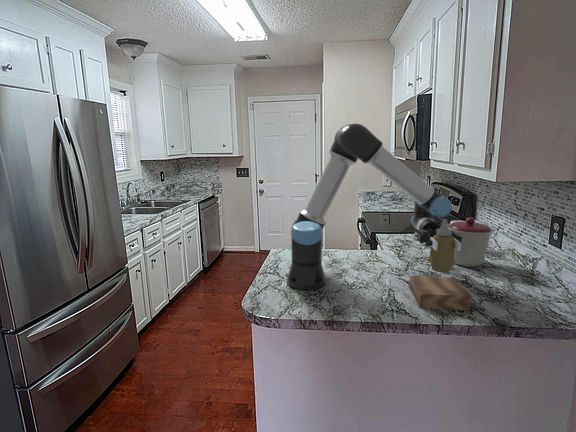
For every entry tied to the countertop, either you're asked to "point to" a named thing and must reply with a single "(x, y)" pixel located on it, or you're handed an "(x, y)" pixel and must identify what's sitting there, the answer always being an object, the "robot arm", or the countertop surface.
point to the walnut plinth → (439, 293)
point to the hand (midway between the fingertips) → (447, 246)
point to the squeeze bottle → (443, 249)
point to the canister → (471, 242)
